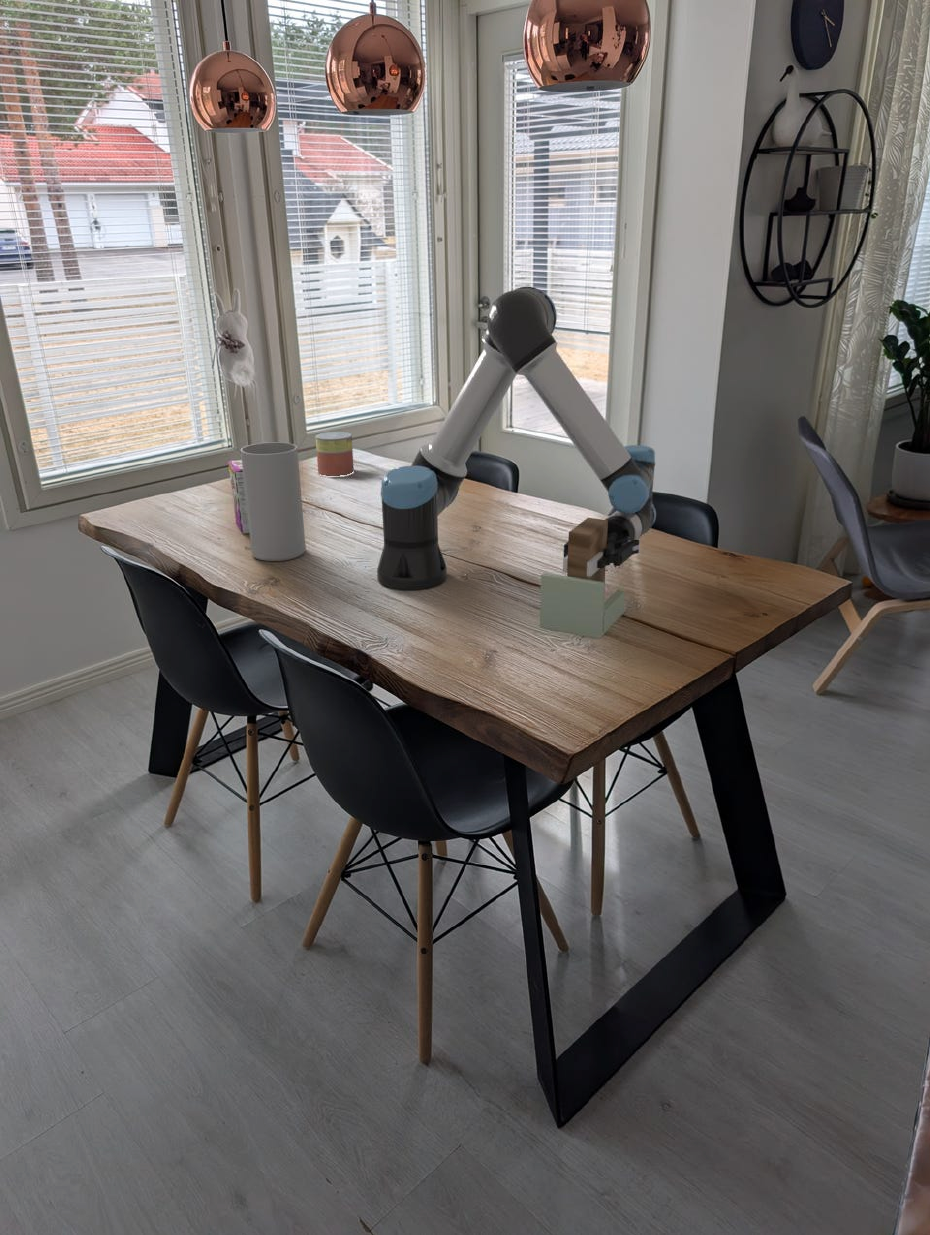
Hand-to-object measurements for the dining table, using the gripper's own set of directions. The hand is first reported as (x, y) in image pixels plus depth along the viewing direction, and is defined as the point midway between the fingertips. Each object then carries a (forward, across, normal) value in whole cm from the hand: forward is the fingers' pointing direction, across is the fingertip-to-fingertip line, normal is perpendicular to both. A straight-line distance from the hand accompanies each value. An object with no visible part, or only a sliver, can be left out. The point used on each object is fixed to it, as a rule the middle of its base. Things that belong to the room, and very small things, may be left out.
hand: (576, 567), depth 167 cm
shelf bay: (-5, 0, -12) cm, 13 cm away
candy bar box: (-23, +98, -12) cm, 102 cm away
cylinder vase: (-10, +78, -12) cm, 80 cm away
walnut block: (-5, 0, -8) cm, 9 cm away
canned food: (-80, +111, -12) cm, 137 cm away
